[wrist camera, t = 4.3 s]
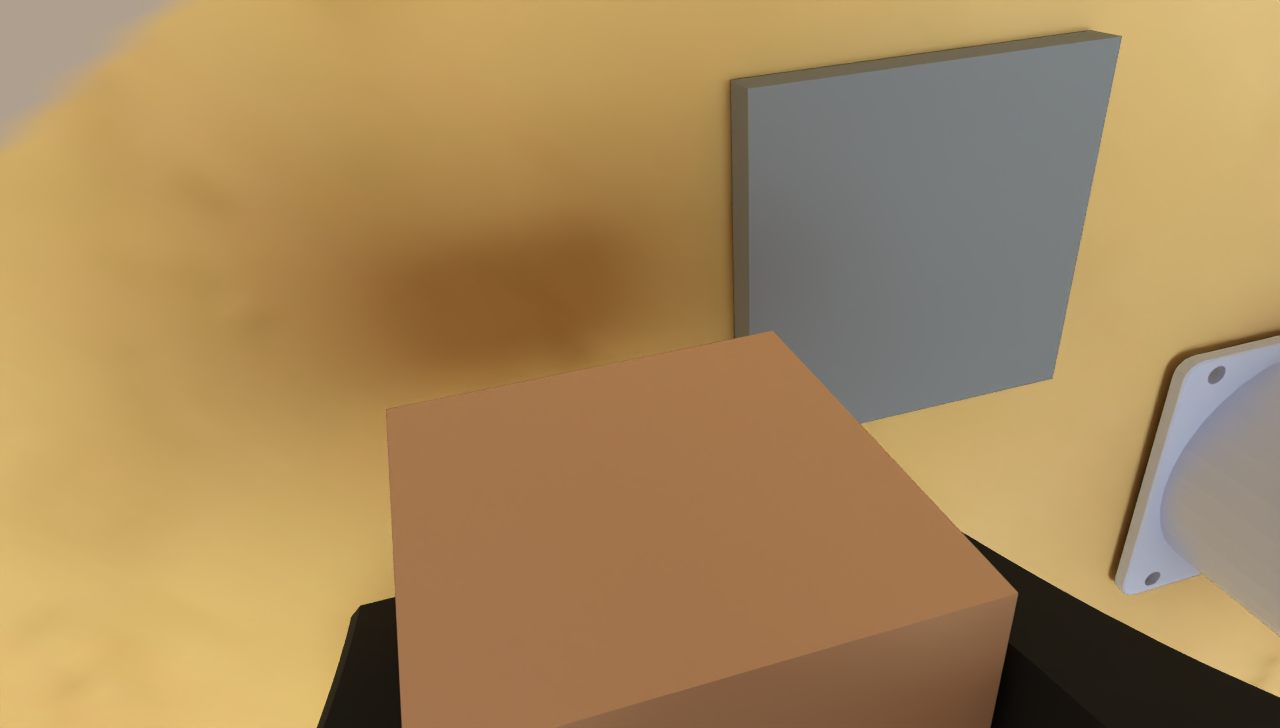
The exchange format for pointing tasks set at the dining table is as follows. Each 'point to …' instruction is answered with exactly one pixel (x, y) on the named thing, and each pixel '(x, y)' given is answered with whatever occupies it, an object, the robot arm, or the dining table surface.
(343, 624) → the dining table surface
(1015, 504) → the dining table surface
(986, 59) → the mat
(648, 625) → the block
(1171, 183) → the dining table surface
